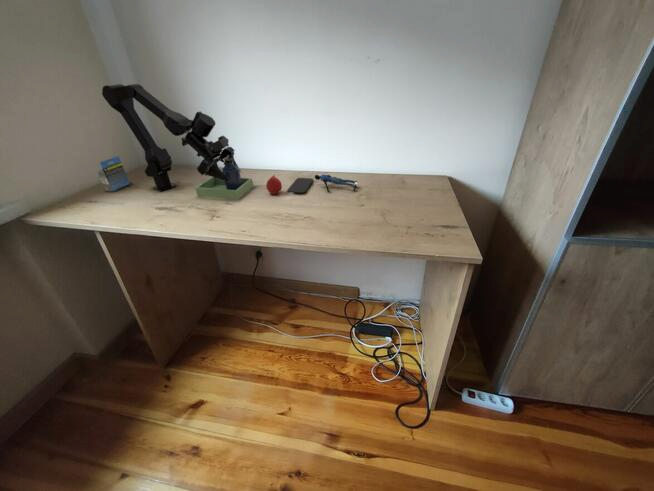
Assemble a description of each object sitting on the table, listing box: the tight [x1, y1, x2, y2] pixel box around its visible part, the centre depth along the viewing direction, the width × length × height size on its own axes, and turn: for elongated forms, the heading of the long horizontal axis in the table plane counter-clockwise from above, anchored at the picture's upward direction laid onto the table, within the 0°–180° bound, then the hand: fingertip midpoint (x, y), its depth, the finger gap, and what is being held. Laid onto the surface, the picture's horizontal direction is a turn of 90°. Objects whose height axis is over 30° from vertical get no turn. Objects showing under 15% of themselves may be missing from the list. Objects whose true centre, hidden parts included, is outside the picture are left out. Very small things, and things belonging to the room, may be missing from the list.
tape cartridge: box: [97, 155, 131, 193], centre depth 122 cm, size 9×4×12 cm, turn 164°
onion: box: [265, 174, 283, 196], centre depth 113 cm, size 6×6×8 cm
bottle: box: [221, 158, 242, 190], centre depth 114 cm, size 6×6×13 cm
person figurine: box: [314, 174, 359, 193], centre depth 119 cm, size 11×4×18 cm
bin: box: [194, 176, 254, 201], centre depth 117 cm, size 17×13×4 cm
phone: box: [286, 177, 314, 195], centre depth 122 cm, size 7×1×15 cm
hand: (234, 176), depth 114 cm, fingers open, 9 cm apart
